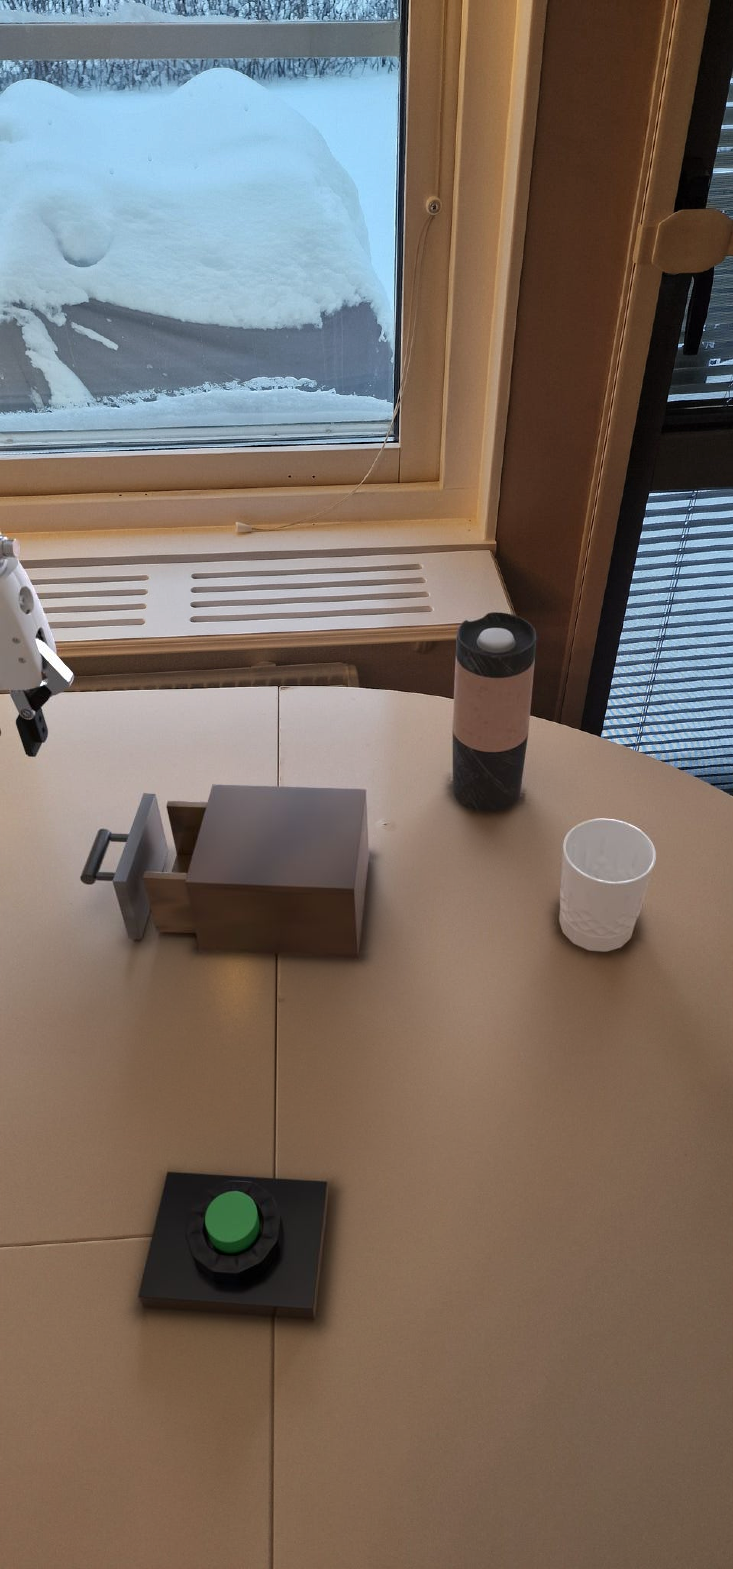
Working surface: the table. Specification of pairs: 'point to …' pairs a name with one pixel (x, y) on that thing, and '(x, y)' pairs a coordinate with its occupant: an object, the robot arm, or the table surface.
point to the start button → (232, 1222)
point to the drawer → (151, 866)
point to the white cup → (603, 882)
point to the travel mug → (491, 709)
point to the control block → (244, 1282)
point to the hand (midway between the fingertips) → (13, 744)
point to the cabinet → (280, 871)
